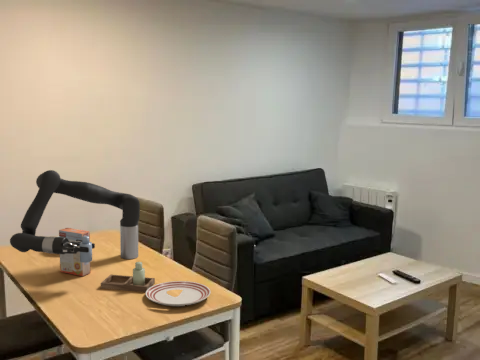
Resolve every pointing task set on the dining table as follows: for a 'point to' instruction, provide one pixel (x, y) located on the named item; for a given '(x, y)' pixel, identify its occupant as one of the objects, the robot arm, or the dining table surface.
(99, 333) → the dining table surface
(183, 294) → the dinner plate
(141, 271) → the green bottle
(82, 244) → the blue bottle
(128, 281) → the caddy
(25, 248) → the robot arm
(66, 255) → the cracker box
